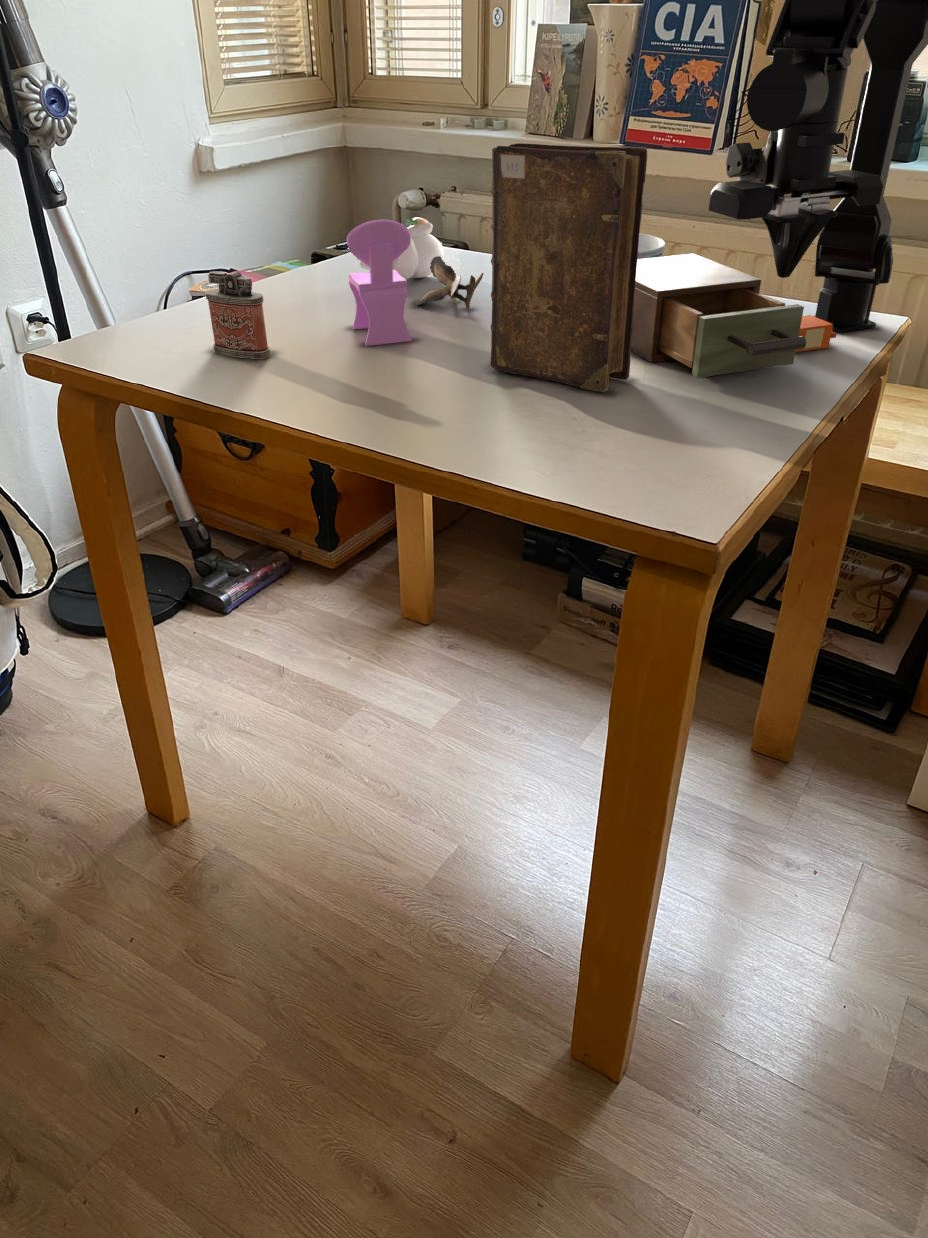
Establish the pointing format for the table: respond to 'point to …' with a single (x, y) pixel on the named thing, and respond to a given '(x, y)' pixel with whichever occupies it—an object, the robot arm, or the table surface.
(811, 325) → the orange box
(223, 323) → the lighter
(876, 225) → the robot arm
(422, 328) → the table surface
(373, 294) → the toy chair
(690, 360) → the drawer
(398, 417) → the table surface
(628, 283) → the book
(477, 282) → the eagle figurine
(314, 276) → the table surface
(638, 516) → the table surface
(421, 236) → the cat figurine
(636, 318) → the cabinet
